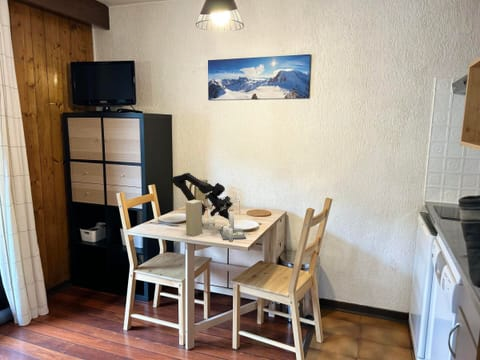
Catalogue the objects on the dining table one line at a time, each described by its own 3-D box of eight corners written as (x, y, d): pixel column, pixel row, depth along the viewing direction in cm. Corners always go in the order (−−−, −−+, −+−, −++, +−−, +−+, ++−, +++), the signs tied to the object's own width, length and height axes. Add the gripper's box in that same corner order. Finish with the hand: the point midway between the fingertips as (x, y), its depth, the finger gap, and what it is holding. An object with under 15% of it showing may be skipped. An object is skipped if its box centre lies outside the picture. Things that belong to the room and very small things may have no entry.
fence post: (229, 234, 214) (229, 211, 212) (225, 233, 215) (224, 210, 213) (234, 229, 222) (234, 207, 219) (230, 229, 223) (229, 207, 221)
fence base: (222, 236, 214) (222, 225, 213) (227, 235, 216) (227, 224, 214) (228, 242, 205) (228, 229, 204) (234, 241, 207) (234, 229, 205)
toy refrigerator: (194, 230, 225) (193, 199, 221) (202, 233, 220) (202, 201, 217) (185, 234, 219) (184, 201, 215) (193, 236, 214) (192, 203, 210)
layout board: (219, 231, 224) (219, 229, 224) (241, 229, 226) (241, 228, 226) (223, 240, 208) (223, 238, 208) (246, 238, 210) (246, 236, 210)
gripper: (213, 196, 213) (228, 216, 209) (230, 189, 228) (244, 208, 225) (203, 206, 219) (218, 226, 215) (220, 199, 234) (234, 218, 231)
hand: (229, 219), depth 221 cm, fingers closed, pressing on fence post
